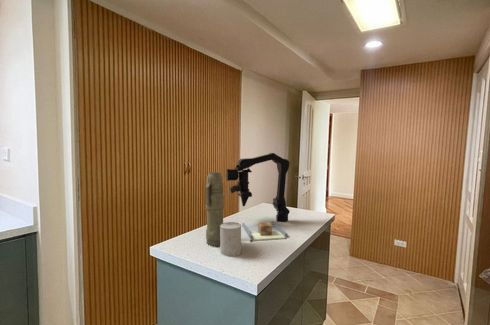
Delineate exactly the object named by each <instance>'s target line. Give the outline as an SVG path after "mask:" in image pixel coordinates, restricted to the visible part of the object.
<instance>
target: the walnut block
mask: <svg viewBox="0 0 490 325" xmlns="http://www.w3.org/2000/svg"><path fill="white" fill-rule="evenodd" d="M271 224H272V223H270V222H269V221H268V222H258V223H257V225H258V233H259V234H260V235H261V236H264V235H272V229H273V227H272V225H271Z"/></svg>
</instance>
